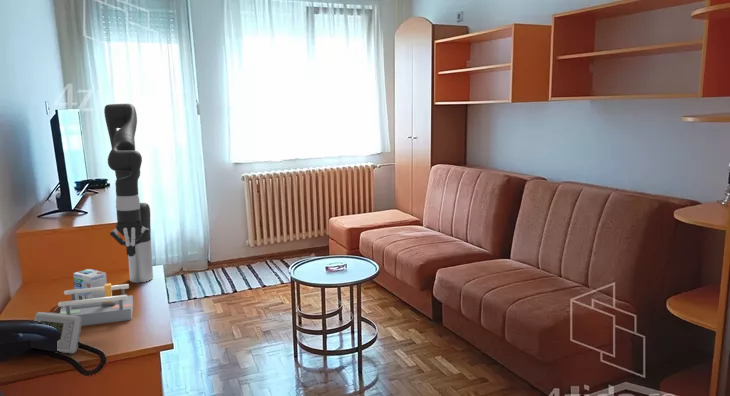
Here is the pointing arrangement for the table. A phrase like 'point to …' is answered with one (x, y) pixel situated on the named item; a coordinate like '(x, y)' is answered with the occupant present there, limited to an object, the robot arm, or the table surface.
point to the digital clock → (63, 329)
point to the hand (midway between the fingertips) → (131, 255)
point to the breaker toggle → (108, 294)
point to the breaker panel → (99, 306)
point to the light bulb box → (89, 283)
